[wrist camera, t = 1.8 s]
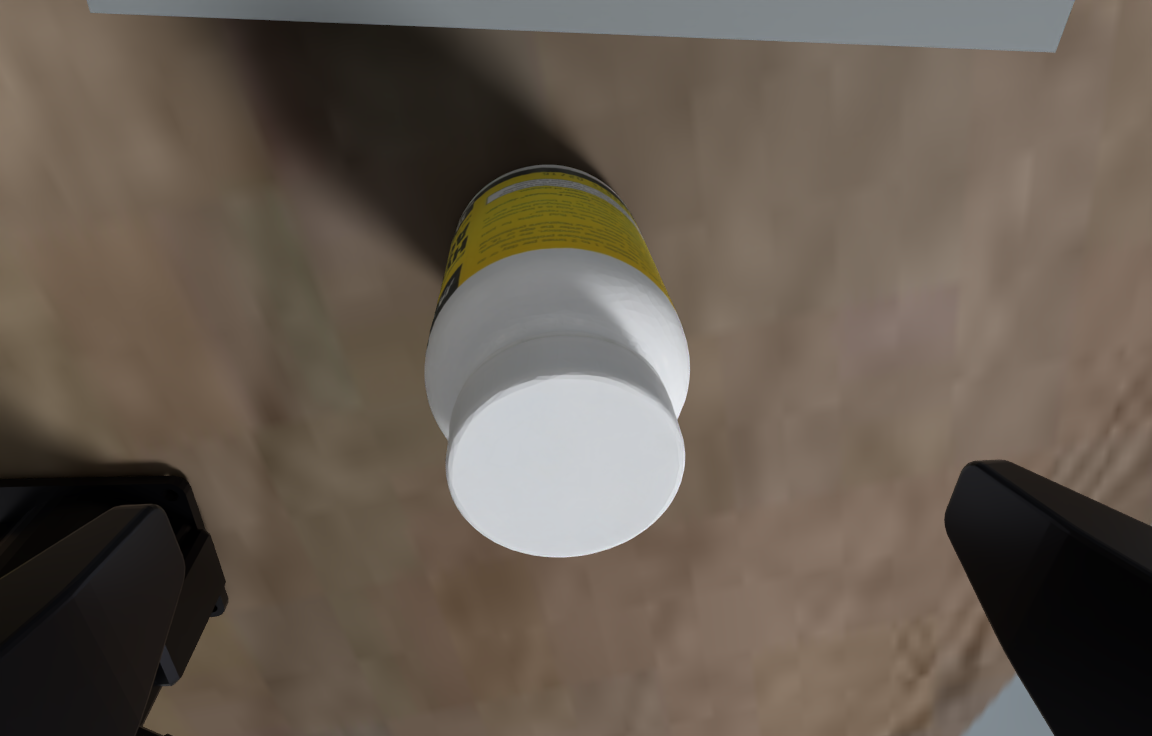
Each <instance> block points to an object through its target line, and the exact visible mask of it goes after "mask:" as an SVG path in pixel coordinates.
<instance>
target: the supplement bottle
mask: <svg viewBox="0 0 1152 736" xmlns="http://www.w3.org/2000/svg"><path fill="white" fill-rule="evenodd" d="M689 378H690V359H689V352H688V346H687V341H686V337H685V334H684V331H683V328H682V325H681V322H680V320H679V317H678V315H677V312H676V310H675V308H674V305H673V303H672V301H671V299H670V297H669V295H668V293H667V290H666V288H665V286H664V284H663V282H662V280H661V277H660V275H659V273H658V271H657V268H656V266H655V264H654V262H653V259H652V257H651V255H650V253H649V251H648V248H647V246H646V244H645V242H644V239H643V237H642V235H641V233H640V230H639V228H638V226H637V224H636V222H635V220H634V218H633V217H632V215H631V213H630V212H629V210H628V208H627V207H626V205H625V204H624V202H623V201H622V200H621V199H620V197H619V196H618V195H617V194H616V193H615V192H614V191H613V190H612V189H611V188H610V187H609V186H607V185H606V184H605V183H603V182H602V181H600V180H599V179H597V178H595V177H594V176H592V175H590V174H588V173H586V172H583V171H581V170H578V169H574V168H571V167H566V166H560V165H535V166H529V167H524V168H520V169H517V170H514V171H511V172H509V173H506V174H504V175H502V176H500V177H499V178H497V179H495V180H493V181H492V182H491V183H489V184H488V185H486V186H485V187H484V188H483V189H481V190H480V191H479V192H478V193H477V194H476V196H475V197H474V198H473V199H472V200H471V201H470V203H469V204H468V206H467V207H466V209H465V211H464V212H463V214H462V216H461V218H460V220H459V223H458V225H457V228H456V230H455V233H454V236H453V239H452V243H451V246H450V252H449V257H448V261H447V266H446V270H445V274H444V278H443V283H442V287H441V291H440V295H439V298H438V303H437V308H436V311H435V316H434V319H433V322H432V326H431V330H430V335H429V340H428V344H427V351H426V359H425V386H426V392H427V397H428V402H429V405H430V408H431V411H432V413H433V416H434V418H435V420H436V422H437V424H438V426H439V428H440V429H441V431H442V432H443V434H444V436H445V437H446V438H447V440H448V446H447V454H446V478H447V482H448V487H449V490H450V493H451V496H452V499H453V501H454V503H455V505H456V506H457V508H458V510H459V511H460V513H461V514H462V515H463V517H464V518H465V519H466V520H467V521H468V522H469V523H470V524H471V525H472V526H473V527H474V528H475V529H476V530H477V531H479V532H480V533H481V534H483V535H484V536H485V537H487V538H489V539H490V540H492V541H494V542H495V543H497V544H500V545H502V546H504V547H506V548H509V549H511V550H515V551H518V552H522V553H526V554H530V555H535V556H544V557H574V556H581V555H587V554H593V553H596V552H600V551H603V550H606V549H610V548H612V547H615V546H617V545H620V544H622V543H624V542H626V541H628V540H630V539H632V538H634V537H635V536H637V535H638V534H640V533H641V532H643V531H644V530H646V529H647V528H648V527H649V526H650V525H652V524H653V523H654V522H655V521H656V520H657V519H658V518H659V517H660V516H661V515H662V514H663V513H664V512H665V511H666V509H667V508H668V506H669V505H670V504H671V502H672V500H673V498H674V497H675V495H676V493H677V491H678V488H679V486H680V483H681V480H682V476H683V472H684V466H685V449H684V440H683V437H682V434H681V430H680V427H679V424H678V421H677V419H678V417H679V414H680V412H681V410H682V407H683V405H684V402H685V399H686V395H687V391H688V385H689Z"/></svg>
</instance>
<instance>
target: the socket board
mask: <svg viewBox="0 0 1152 736" xmlns="http://www.w3.org/2000/svg"><path fill="white" fill-rule="evenodd" d="M1074 1H1075V0H87V3H88V6H89V10H90V13H109V14H133V15H158V16H182V17H206V18H230V19H255V20H279V21H303V22H328V23H352V24H376V25H401V26H425V27H449V28H474V29H498V30H522V31H547V32H571V33H595V34H620V35H644V36H668V37H693V38H717V39H741V40H766V41H790V42H814V43H838V44H863V45H887V46H911V47H936V48H960V49H984V50H1009V51H1033V52H1056V49H1057V46H1058V44H1059V41H1060V38H1061V36H1062V33H1063V30H1064V28H1065V25H1066V22H1067V20H1068V17H1069V14H1070V12H1071V9H1072V6H1073V4H1074Z"/></svg>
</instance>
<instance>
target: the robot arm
mask: <svg viewBox="0 0 1152 736" xmlns="http://www.w3.org/2000/svg"><path fill="white" fill-rule="evenodd" d="M169 490H173V491H175V492H176V493H173V492H171V491H169ZM944 521H945V528H946V532H947V535H948V537H949V539H950V541H951V543H952V545H953V547H954V550H955V552H956V554H957V556H958V558H959V560H960V562H961V564H962V566H963V568H964V570H965V572H966V574H967V577H968V579H969V581H970V583H971V585H972V587H973V589H974V591H975V593H976V595H977V597H978V599H979V601H980V603H981V606H982V608H983V610H984V612H985V614H986V616H987V618H988V620H989V622H990V624H991V626H992V628H993V630H994V632H995V634H996V636H997V638H998V640H999V642H1000V644H1001V646H1002V648H1003V650H1004V652H1005V654H1006V655H1007V657H1008V659H1009V661H1010V662H1011V664H1012V666H1013V668H1014V669H1015V671H1016V673H1017V675H1018V676H1019V678H1020V680H1021V681H1022V683H1023V684H1024V686H1025V688H1026V689H1027V691H1028V693H1029V694H1030V696H1031V698H1032V699H1033V701H1034V703H1035V704H1036V706H1037V708H1038V709H1039V711H1040V713H1041V714H1042V716H1043V718H1044V719H1045V721H1046V723H1047V724H1048V726H1049V727H1050V729H1051V731H1052V732H1053V734H1054V736H1152V526H1150V525H1147V524H1145V523H1143V522H1141V521H1139V520H1136V519H1134V518H1132V517H1130V516H1128V515H1126V514H1123V513H1121V512H1119V511H1117V510H1115V509H1112V508H1110V507H1108V506H1106V505H1104V504H1102V503H1099V502H1097V501H1095V500H1093V499H1091V498H1088V497H1086V496H1084V495H1082V494H1080V493H1077V492H1075V491H1073V490H1071V489H1069V488H1067V487H1064V486H1062V485H1060V484H1058V483H1056V482H1053V481H1051V480H1049V479H1047V478H1045V477H1043V476H1040V475H1038V474H1036V473H1034V472H1032V471H1029V470H1027V469H1025V468H1023V467H1021V466H1018V465H1016V464H1014V463H1012V462H1009V461H1006V460H982V461H973V462H970V463H968V464H967V465H966V466H965V467H964V468H963V469H962V471H961V473H960V476H959V478H958V481H957V484H956V486H955V489H954V491H953V494H952V496H951V499H950V501H949V504H948V506H947V509H946V512H945V519H944ZM225 583H226V581H225V578H224V575H223V572H222V569H221V565H220V562H219V559H218V556H217V553H216V550H215V547H214V544H213V541H212V538H211V535H210V534H209V533H208V532H207V531H206V529H205V527H204V524H203V521H202V518H201V515H200V512H199V509H198V506H197V503H196V500H195V497H194V494H193V491H192V488H191V486H190V485H189V483H188V482H187V481H186V480H184V479H183V478H180V477H177V476H136V477H86V478H37V479H0V736H163V735H161V734H158V733H156V732H154V731H152V730H149V729H147V728H145V727H143V724H144V722H145V720H146V718H147V716H148V714H149V712H150V710H151V708H152V706H153V704H154V702H155V700H156V698H157V696H158V694H159V692H160V690H161V688H162V686H172V685H174V684H175V683H176V682H177V681H178V680H179V679H180V678H181V677H182V675H183V673H184V670H185V668H186V666H187V664H188V662H189V660H190V658H191V656H192V653H193V651H194V649H195V647H196V645H197V643H198V641H199V639H200V636H201V634H202V632H203V630H204V628H205V626H206V624H207V622H208V620H209V617H215V616H219V615H221V614H223V612H224V611H225V609H226V606H227V604H228V596H227V593H226V590H225V587H224V586H225ZM164 736H172V735H170V734H166V735H164Z"/></svg>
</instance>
